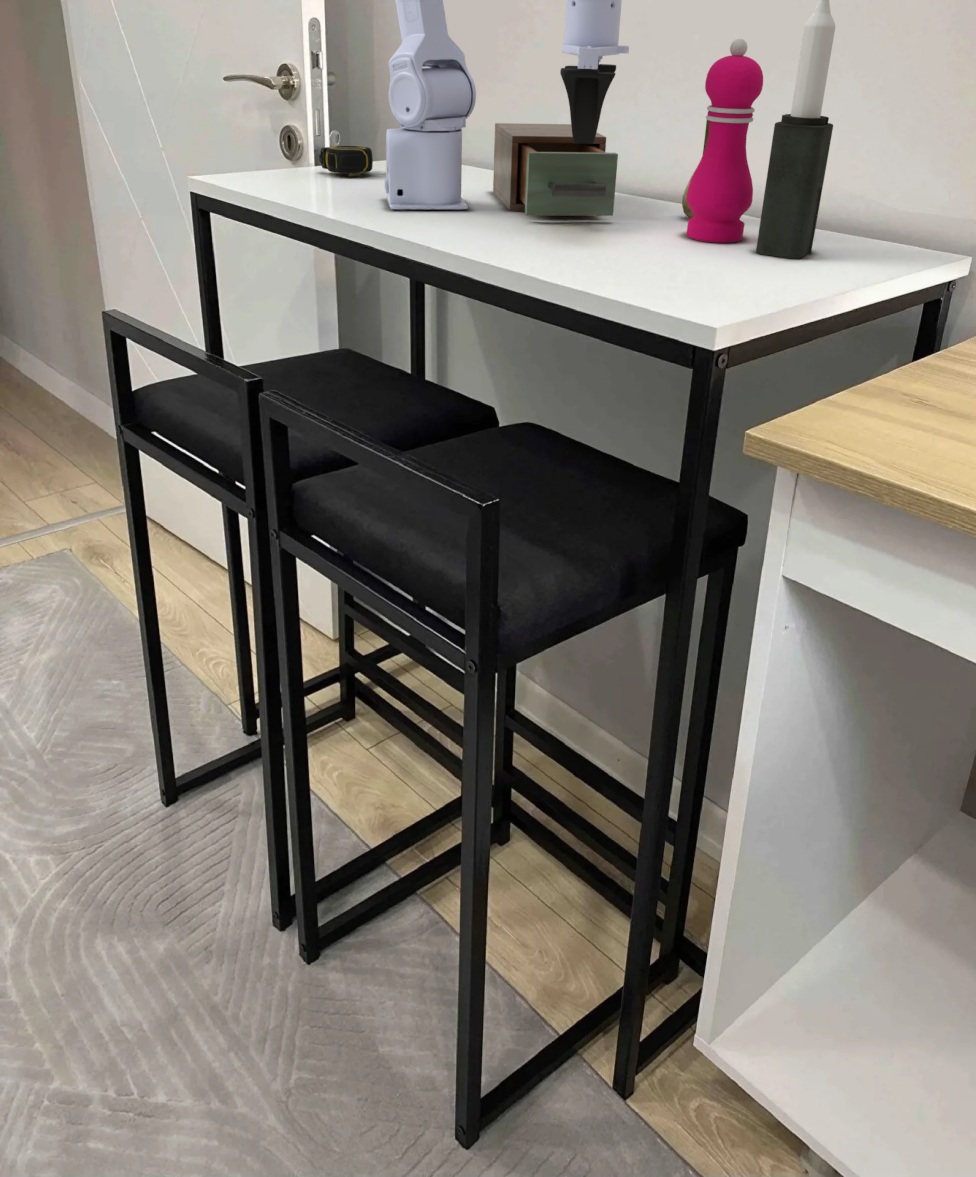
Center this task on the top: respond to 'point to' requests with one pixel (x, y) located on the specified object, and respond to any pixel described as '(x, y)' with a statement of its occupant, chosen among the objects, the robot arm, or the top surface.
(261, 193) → the top surface
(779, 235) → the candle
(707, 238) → the pepper mill
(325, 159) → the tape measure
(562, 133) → the cabinet
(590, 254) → the top surface
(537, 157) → the drawer
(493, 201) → the top surface
